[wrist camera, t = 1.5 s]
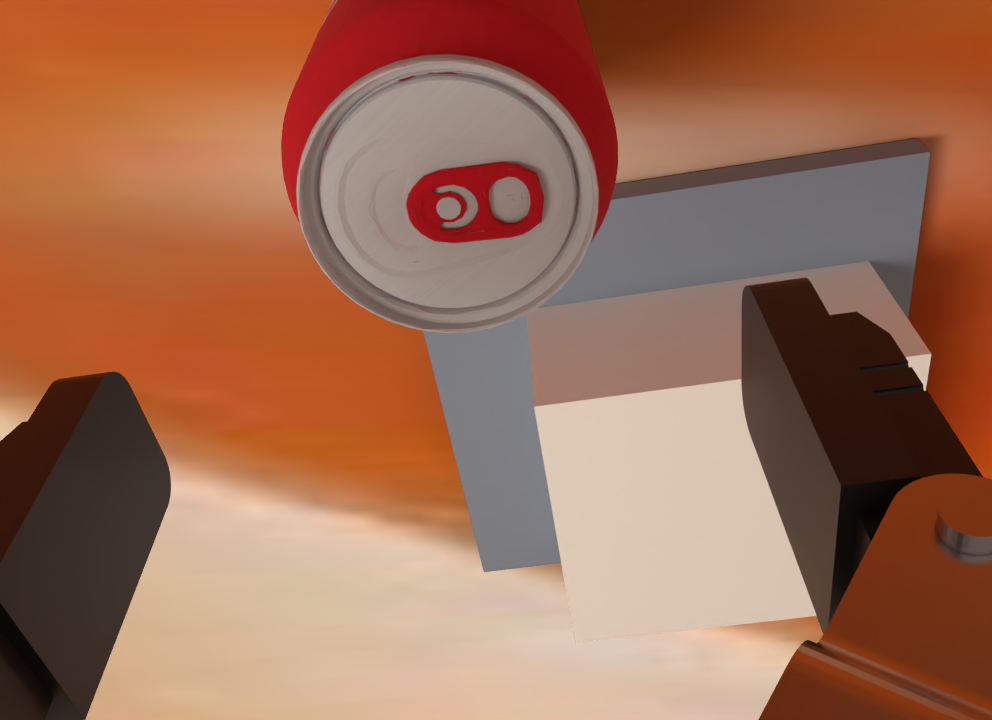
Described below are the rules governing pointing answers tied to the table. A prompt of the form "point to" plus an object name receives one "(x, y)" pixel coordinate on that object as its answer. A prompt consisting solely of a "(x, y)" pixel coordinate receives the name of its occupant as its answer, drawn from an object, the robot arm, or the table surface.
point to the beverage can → (450, 156)
